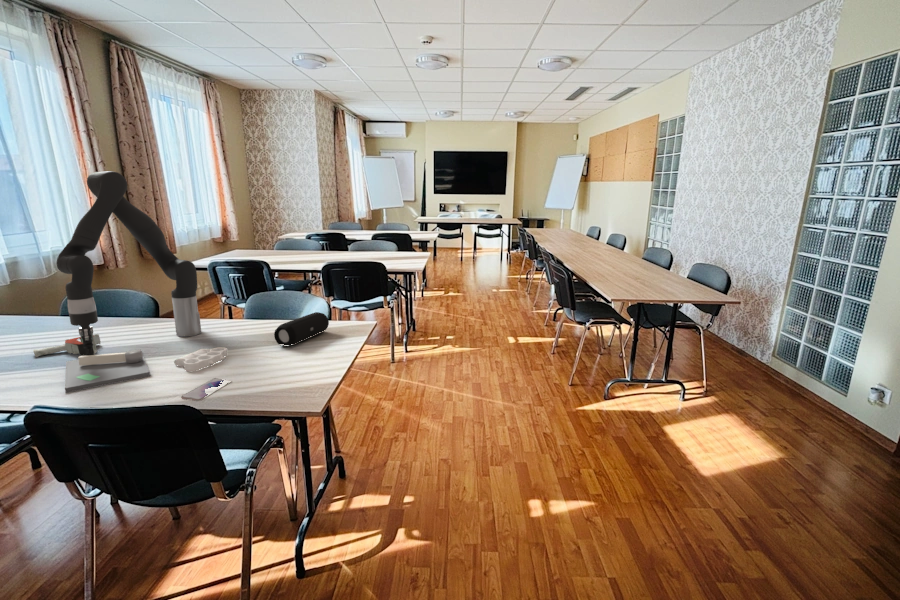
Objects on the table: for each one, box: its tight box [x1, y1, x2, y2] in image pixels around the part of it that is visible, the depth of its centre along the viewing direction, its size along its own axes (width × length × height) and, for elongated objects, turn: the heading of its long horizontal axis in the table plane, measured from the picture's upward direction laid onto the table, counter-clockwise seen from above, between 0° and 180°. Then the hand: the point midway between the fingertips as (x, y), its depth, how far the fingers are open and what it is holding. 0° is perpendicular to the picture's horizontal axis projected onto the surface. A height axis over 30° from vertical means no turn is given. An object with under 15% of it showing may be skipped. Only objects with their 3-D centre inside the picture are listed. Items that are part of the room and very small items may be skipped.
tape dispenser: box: [32, 333, 101, 358], centre depth 170 cm, size 18×5×20 cm
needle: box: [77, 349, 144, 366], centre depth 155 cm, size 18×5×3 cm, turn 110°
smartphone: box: [180, 377, 224, 401], centre depth 141 cm, size 7×1×15 cm
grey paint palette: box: [173, 346, 229, 372], centre depth 163 cm, size 3×18×15 cm
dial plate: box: [64, 349, 151, 394], centre depth 153 cm, size 22×28×2 cm
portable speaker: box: [273, 311, 330, 345], centre depth 190 cm, size 26×10×10 cm, turn 158°
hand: (90, 356), depth 158 cm, fingers closed
